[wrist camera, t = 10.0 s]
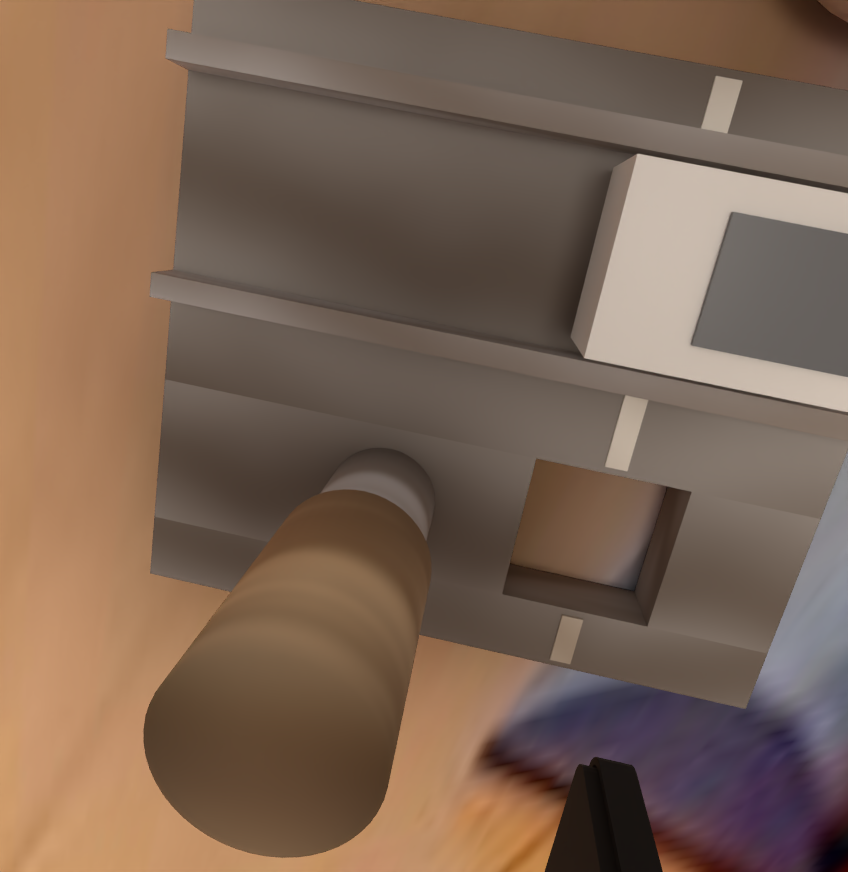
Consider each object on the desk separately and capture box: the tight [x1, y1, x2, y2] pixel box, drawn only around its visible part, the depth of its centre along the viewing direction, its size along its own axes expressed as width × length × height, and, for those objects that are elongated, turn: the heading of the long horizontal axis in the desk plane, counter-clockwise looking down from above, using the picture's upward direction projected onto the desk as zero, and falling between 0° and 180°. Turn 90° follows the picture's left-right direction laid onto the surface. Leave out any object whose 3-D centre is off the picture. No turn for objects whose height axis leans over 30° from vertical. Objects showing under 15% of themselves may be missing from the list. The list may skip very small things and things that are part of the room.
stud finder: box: [571, 154, 848, 412], centre depth 15 cm, size 4×6×3 cm, turn 79°
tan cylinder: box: [144, 448, 435, 858], centre depth 15 cm, size 4×4×10 cm
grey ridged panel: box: [150, 0, 848, 709], centre depth 18 cm, size 16×18×3 cm
